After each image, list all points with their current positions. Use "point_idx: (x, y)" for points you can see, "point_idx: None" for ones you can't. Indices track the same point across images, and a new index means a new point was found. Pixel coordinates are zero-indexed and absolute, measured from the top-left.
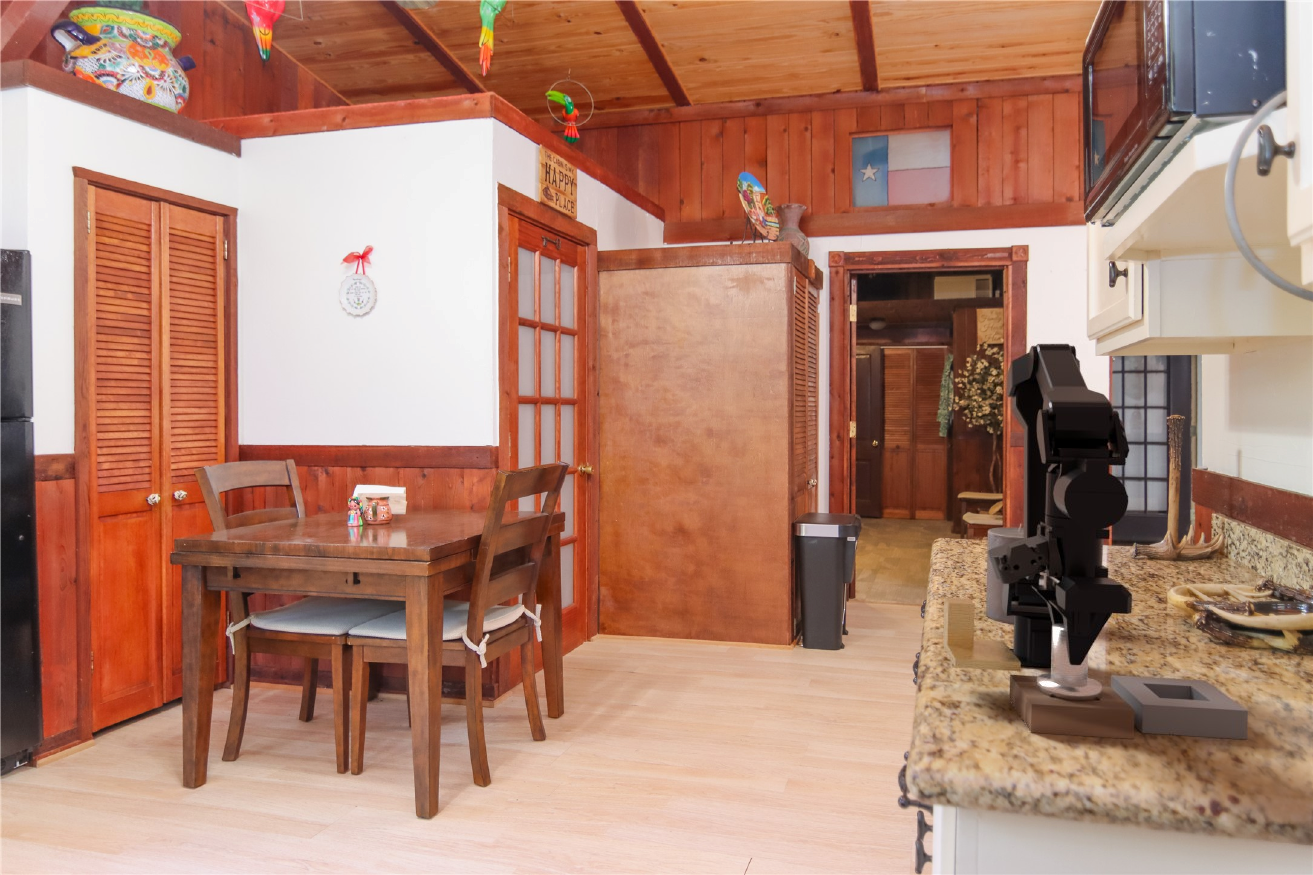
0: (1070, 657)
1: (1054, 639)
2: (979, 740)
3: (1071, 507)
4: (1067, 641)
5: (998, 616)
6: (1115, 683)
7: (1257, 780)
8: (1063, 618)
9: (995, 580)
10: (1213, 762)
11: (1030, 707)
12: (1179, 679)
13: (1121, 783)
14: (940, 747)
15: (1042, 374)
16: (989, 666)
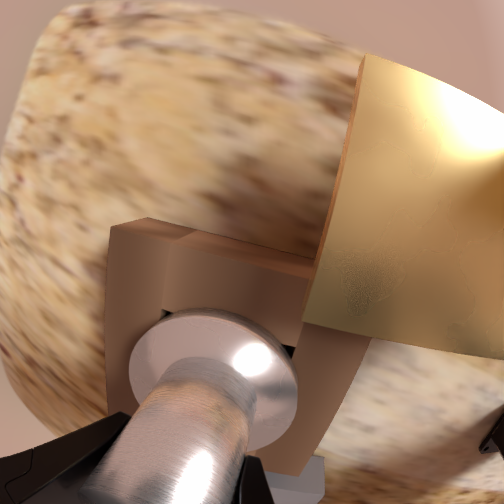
0: (102, 420)
1: (138, 456)
2: (116, 91)
3: None
4: (63, 446)
5: None
6: (297, 484)
7: (47, 409)
8: (7, 497)
9: None
10: (77, 413)
11: (127, 227)
12: None
13: (3, 257)
14: (101, 24)
15: None
16: (334, 190)
